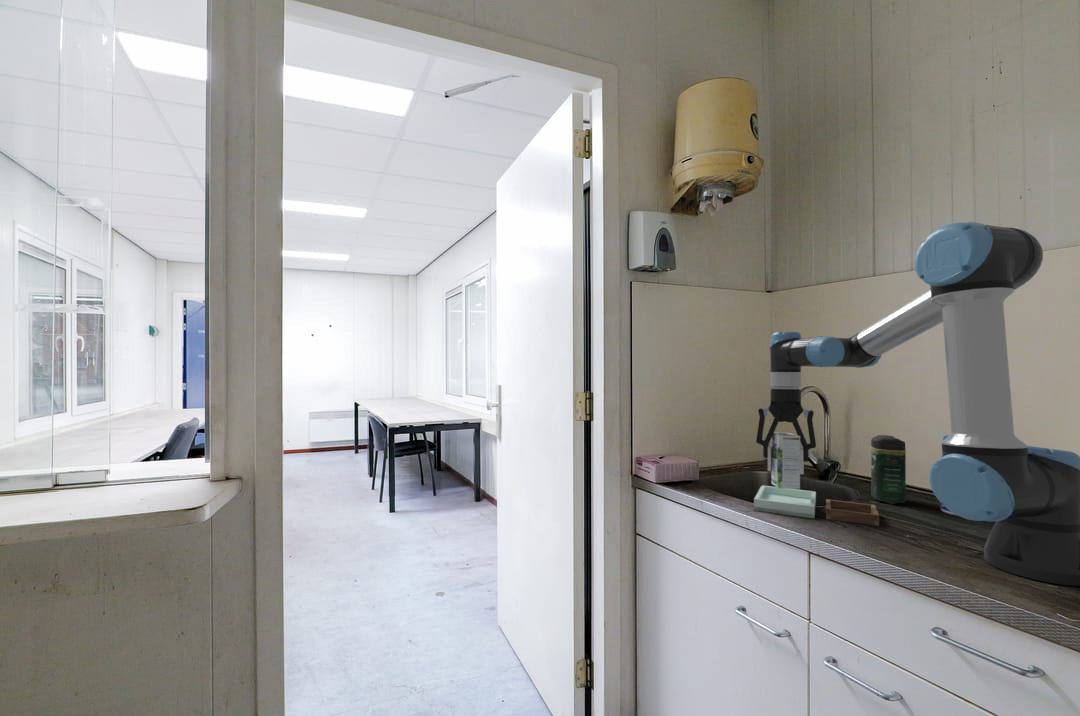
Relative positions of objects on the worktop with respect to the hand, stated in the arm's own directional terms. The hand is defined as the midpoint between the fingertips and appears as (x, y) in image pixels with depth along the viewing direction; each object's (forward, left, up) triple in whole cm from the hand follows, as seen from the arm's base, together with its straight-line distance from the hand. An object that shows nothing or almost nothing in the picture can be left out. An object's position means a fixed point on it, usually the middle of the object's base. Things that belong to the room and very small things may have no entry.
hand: (785, 471), depth 135 cm
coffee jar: (+23, -25, -10) cm, 35 cm away
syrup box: (0, 0, -4) cm, 4 cm away
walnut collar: (-2, -15, -9) cm, 18 cm away
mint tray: (0, 0, -9) cm, 9 cm away
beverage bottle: (+17, -40, -10) cm, 45 cm away
